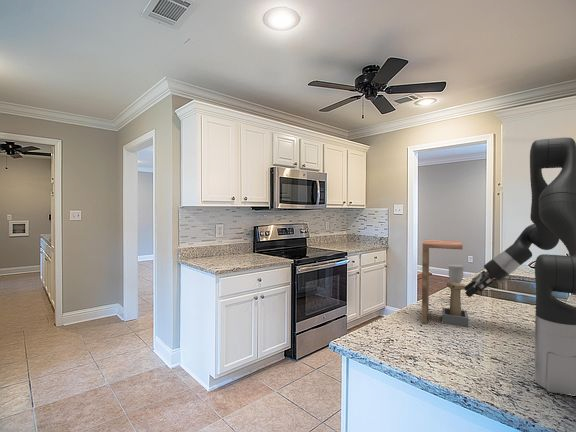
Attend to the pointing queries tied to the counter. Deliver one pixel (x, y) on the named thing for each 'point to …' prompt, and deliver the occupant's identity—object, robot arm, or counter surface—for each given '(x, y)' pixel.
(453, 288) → the tan headed rod
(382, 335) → the counter surface
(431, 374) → the counter surface
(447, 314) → the socket
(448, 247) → the wooden l-shaped bracket
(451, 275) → the chalice
